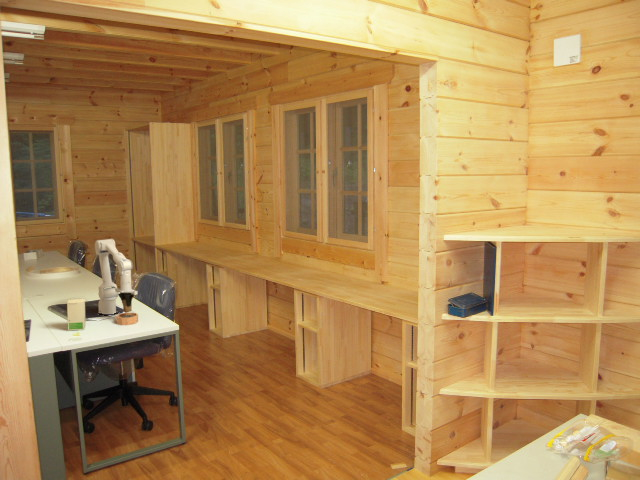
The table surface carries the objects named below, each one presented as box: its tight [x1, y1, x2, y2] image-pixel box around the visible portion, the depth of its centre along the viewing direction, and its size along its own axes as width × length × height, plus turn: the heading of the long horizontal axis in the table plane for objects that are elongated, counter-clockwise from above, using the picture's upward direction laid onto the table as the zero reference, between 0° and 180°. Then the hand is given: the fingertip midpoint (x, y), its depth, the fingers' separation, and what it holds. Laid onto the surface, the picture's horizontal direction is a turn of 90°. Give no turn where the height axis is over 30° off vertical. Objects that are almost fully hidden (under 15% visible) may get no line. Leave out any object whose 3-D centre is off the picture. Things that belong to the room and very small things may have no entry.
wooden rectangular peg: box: [122, 299, 133, 313], centre depth 302 cm, size 2×4×7 cm, turn 154°
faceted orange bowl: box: [115, 312, 139, 326], centre depth 303 cm, size 11×11×4 cm
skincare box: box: [66, 298, 86, 332], centre depth 290 cm, size 8×7×16 cm
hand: (126, 305), depth 302 cm, fingers closed on wooden rectangular peg, 2 cm apart
